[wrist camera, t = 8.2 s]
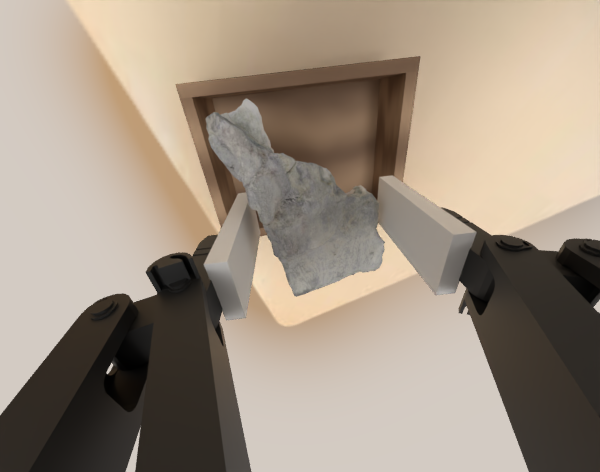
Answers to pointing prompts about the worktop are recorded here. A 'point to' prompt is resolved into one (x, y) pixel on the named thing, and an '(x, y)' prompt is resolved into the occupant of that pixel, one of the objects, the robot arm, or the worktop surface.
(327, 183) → the mineral specimen
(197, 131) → the walnut well
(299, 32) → the worktop surface
